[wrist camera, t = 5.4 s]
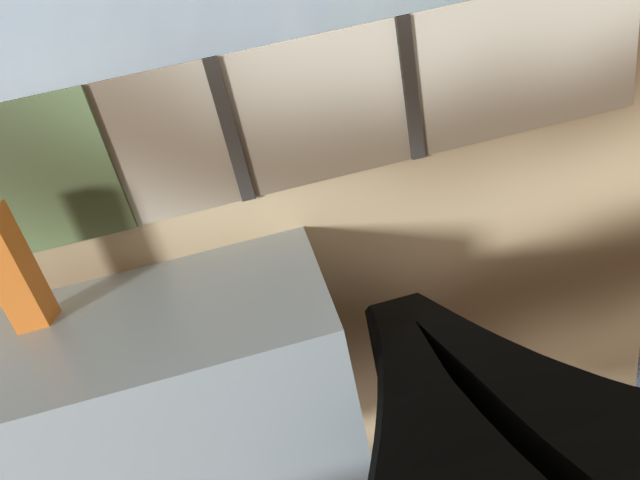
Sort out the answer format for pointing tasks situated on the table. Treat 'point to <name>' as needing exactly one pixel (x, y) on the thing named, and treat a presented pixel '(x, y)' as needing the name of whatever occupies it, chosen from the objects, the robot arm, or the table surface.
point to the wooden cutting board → (372, 170)
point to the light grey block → (177, 369)
